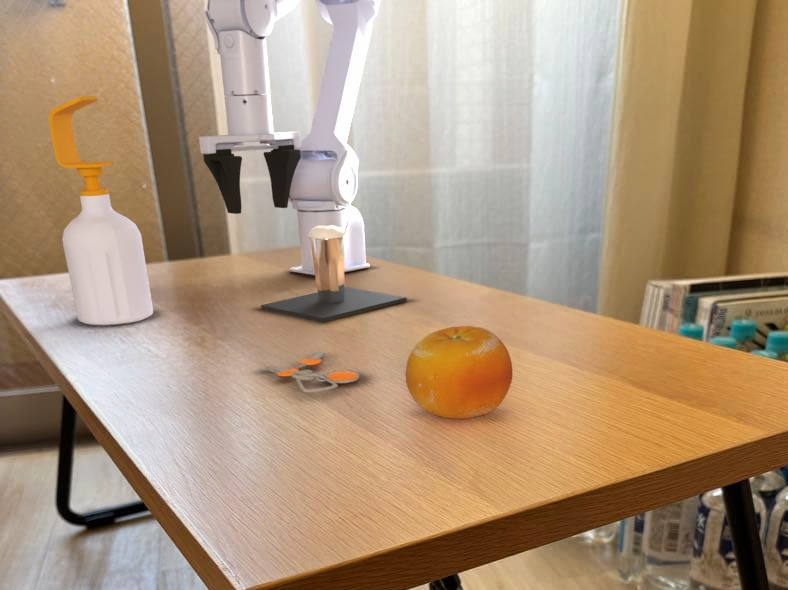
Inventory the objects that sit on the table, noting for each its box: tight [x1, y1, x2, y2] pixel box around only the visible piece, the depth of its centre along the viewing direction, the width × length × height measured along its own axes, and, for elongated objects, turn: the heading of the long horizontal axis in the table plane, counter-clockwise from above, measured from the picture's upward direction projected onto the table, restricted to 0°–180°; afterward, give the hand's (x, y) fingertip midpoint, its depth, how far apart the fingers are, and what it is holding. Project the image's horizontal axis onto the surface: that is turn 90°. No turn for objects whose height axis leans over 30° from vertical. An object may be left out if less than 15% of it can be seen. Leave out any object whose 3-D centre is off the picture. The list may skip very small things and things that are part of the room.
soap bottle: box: [48, 95, 154, 327], centre depth 105 cm, size 9×9×25 cm
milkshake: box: [308, 218, 350, 304], centre depth 110 cm, size 4×5×10 cm
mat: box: [260, 286, 408, 323], centre depth 113 cm, size 14×12×1 cm
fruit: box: [405, 325, 513, 420], centre depth 73 cm, size 8×8×8 cm
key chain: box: [265, 351, 360, 393], centre depth 85 cm, size 13×7×1 cm, turn 24°
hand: (258, 210), depth 118 cm, fingers open, 7 cm apart
